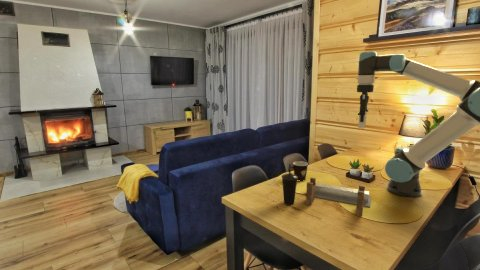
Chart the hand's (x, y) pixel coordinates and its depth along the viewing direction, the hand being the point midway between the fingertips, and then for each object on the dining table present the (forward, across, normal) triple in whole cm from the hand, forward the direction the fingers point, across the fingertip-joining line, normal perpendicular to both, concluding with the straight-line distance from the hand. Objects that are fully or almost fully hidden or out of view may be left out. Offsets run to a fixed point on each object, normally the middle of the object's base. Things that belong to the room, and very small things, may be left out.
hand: (362, 126), depth 134 cm
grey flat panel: (+35, +14, -8) cm, 38 cm away
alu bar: (+34, +14, -8) cm, 38 cm away
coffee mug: (+35, 0, -33) cm, 48 cm away
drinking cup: (+35, +32, -28) cm, 55 cm away
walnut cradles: (+35, +26, -8) cm, 44 cm away
